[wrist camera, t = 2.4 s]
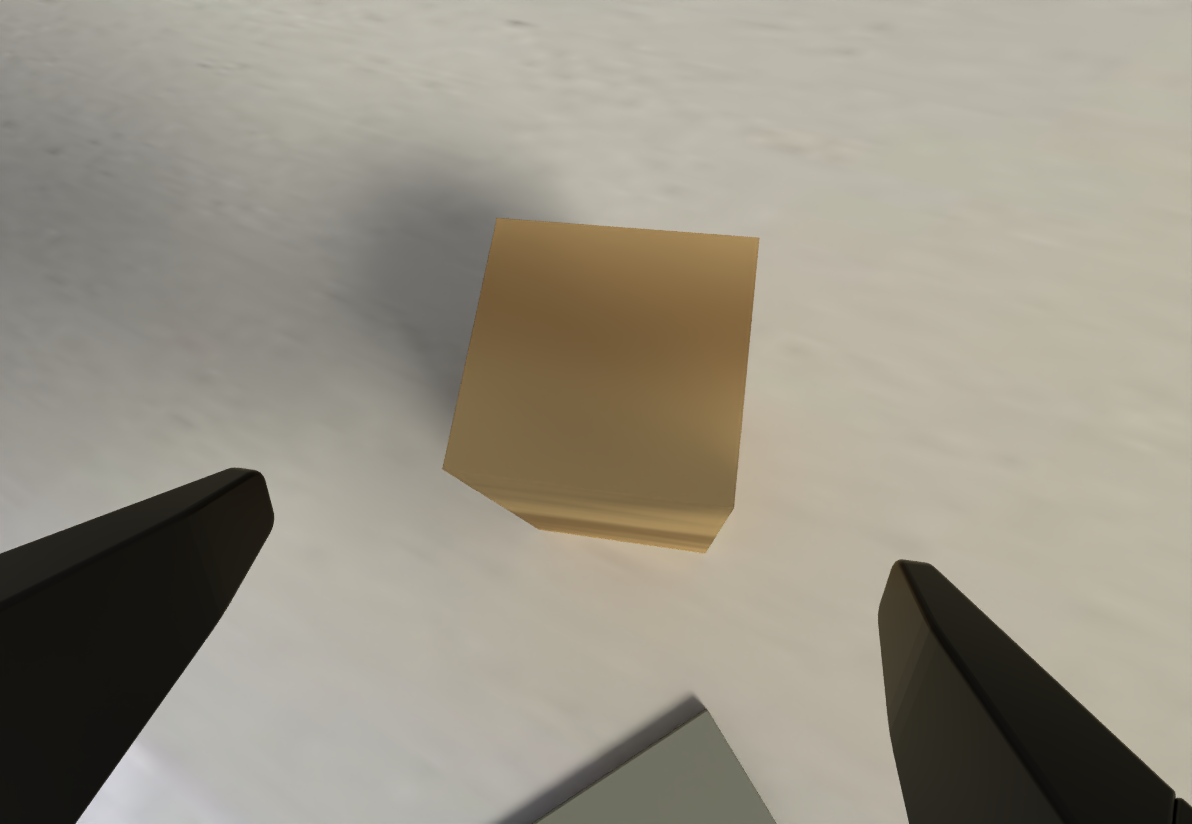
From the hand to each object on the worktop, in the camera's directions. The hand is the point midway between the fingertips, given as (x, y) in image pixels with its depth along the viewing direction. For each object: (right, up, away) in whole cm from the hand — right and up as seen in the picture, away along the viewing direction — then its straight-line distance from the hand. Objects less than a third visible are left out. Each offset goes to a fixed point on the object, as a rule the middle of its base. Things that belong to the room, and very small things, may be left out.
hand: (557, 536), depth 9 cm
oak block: (+2, 0, +11) cm, 11 cm away
